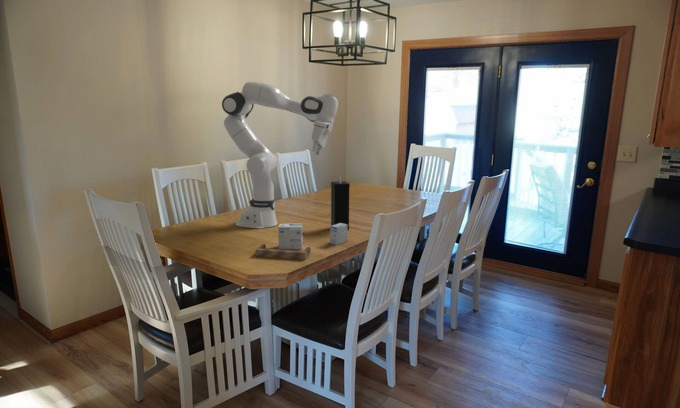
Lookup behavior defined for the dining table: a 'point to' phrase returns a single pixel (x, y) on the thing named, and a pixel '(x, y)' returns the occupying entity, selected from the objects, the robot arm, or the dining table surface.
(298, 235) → the light bulb box
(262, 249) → the walnut corral
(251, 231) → the dining table surface
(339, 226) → the medicine box
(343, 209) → the long black box
